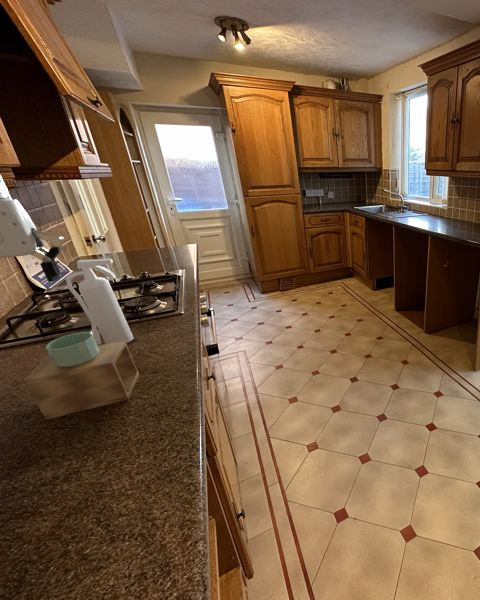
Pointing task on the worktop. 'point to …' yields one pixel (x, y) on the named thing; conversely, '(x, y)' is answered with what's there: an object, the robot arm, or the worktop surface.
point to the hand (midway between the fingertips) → (22, 283)
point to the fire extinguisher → (100, 302)
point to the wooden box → (83, 382)
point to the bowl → (73, 349)
